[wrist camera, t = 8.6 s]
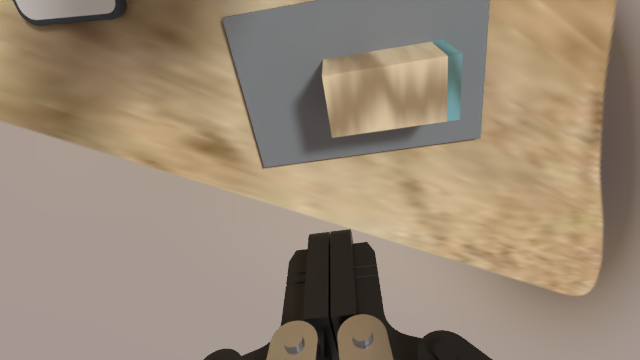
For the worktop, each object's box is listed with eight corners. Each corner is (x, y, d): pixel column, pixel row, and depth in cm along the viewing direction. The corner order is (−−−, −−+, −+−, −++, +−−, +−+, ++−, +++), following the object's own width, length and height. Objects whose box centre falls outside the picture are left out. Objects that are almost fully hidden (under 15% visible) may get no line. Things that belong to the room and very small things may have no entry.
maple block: (321, 76, 27) (462, 53, 26) (322, 59, 31) (443, 39, 30) (331, 137, 29) (460, 119, 28) (331, 114, 33) (443, 98, 32)
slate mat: (223, 17, 30) (221, 18, 29) (489, -32, 28) (491, -32, 27) (265, 165, 37) (264, 167, 37) (478, 135, 35) (480, 138, 34)
